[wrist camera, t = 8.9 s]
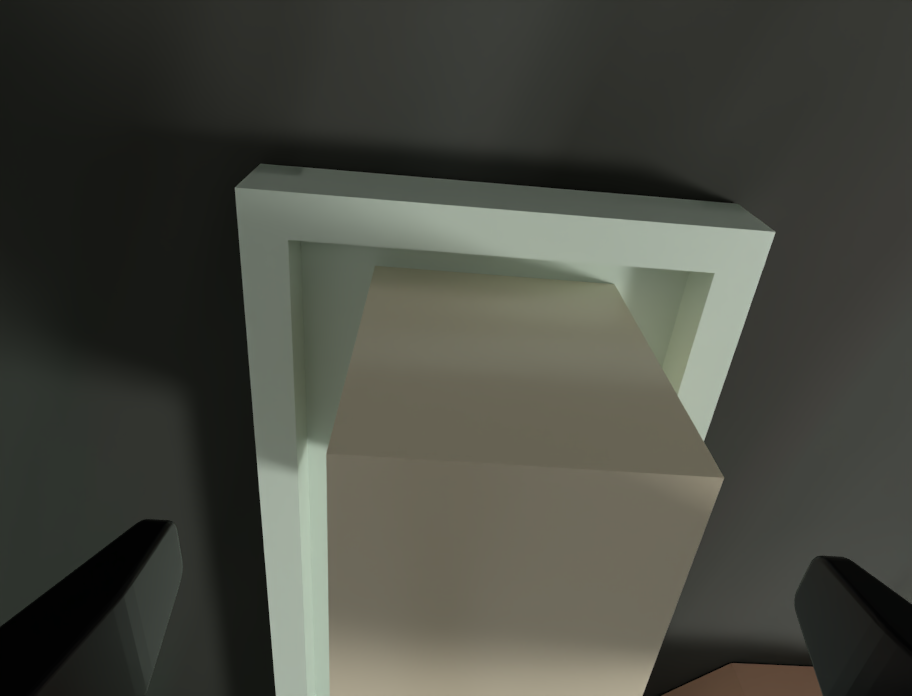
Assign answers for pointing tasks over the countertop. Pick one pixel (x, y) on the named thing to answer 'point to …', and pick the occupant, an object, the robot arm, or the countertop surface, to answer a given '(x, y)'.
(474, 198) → the tray
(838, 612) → the robot arm
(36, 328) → the countertop surface
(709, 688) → the bowl
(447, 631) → the beige block
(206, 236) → the countertop surface
